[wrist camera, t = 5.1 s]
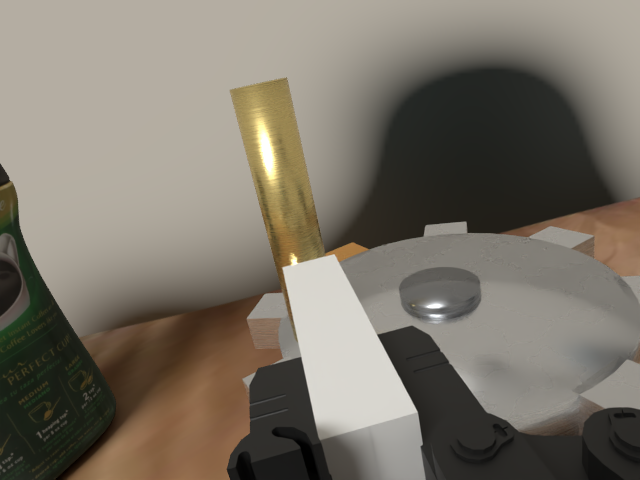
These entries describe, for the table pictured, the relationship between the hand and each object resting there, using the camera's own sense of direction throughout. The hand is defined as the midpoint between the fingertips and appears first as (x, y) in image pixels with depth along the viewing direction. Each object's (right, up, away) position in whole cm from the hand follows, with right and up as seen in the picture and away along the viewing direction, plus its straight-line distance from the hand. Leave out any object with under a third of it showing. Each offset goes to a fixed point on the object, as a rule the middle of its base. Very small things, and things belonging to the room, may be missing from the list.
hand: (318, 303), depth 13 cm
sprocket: (+7, -3, +11) cm, 13 cm away
